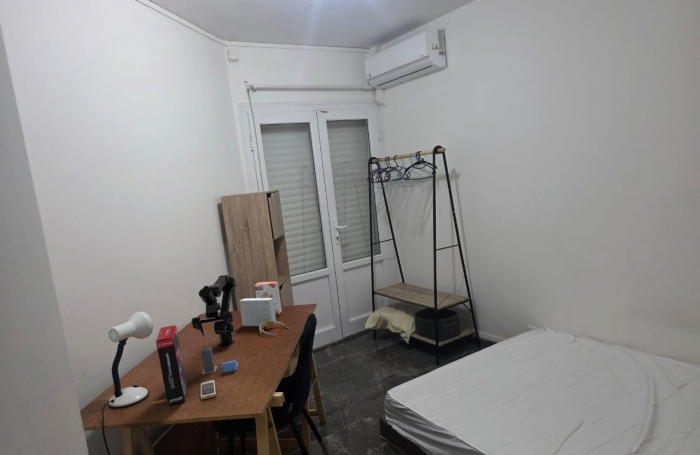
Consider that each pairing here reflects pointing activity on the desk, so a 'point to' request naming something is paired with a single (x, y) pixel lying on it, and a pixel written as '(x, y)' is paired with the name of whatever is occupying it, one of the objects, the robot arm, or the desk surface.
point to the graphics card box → (171, 364)
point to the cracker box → (269, 293)
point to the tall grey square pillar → (208, 359)
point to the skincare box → (257, 311)
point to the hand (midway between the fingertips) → (213, 334)
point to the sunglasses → (268, 326)
